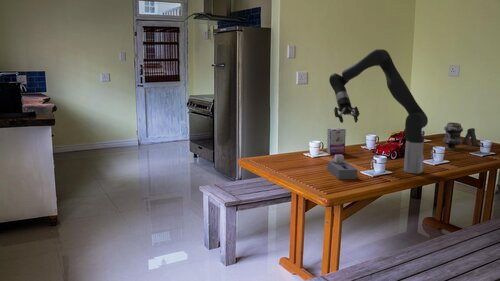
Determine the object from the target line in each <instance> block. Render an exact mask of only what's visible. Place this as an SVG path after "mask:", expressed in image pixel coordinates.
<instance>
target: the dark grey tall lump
mask: <svg viewBox="0 0 500 281" xmlns="http://www.w3.org/2000/svg"><path fill="white" fill-rule="evenodd" d="M443 128H444V131H445V134H444V137H443V138H442V142H443V143H444V144H446V146H444V147H445V150H449V151H459V150H460V148H459V147H457V146H458V145H462V142H463V140H462V139H461V134H462V133H463V131H464V128H463V127H462V124H461V123H459V122H450V121H449V122H447V124H446V125H445V126H444V127H443Z"/></svg>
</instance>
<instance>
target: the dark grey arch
mask: <svg viewBox="0 0 500 281" xmlns="http://www.w3.org/2000/svg"><path fill="white" fill-rule="evenodd" d="M466 132H467V133H466V135H465V137H464V138H463V140H462V143H461V145H462V146H471V147H476V146H478V145H479V143H478V140H477V137H476V128H474V127H473V128H472V127H471V128H468V129H467V131H466ZM470 140H471V143H469V141H470Z"/></svg>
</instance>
